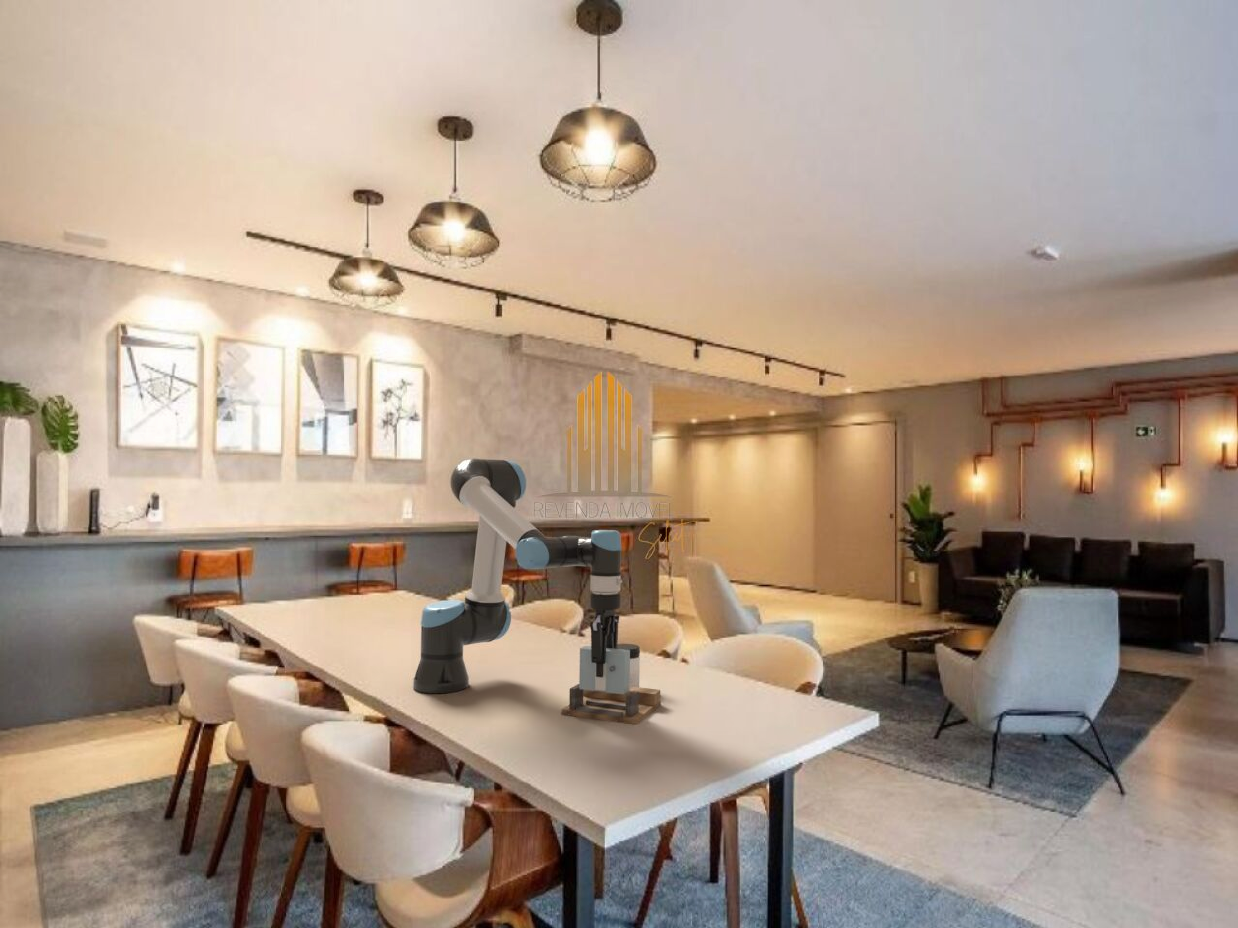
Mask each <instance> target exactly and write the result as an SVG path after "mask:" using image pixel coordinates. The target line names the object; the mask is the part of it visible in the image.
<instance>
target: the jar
mask: <svg viewBox="0 0 1238 928" xmlns="http://www.w3.org/2000/svg"><path fill="white" fill-rule="evenodd" d="M617 649H624V650H630V686H632V687H640V672H641V671H640V667H641V666H640V661H641V660H640V659H641V658H640V653H641V650H640V649H641V648H640V646H639V645H637V644H631V643H618V645H617Z"/></svg>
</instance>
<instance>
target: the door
mask: <svg viewBox="0 0 1238 928" xmlns="http://www.w3.org/2000/svg"><path fill="white" fill-rule="evenodd" d="M605 663H607V689H606V691H603V690H595V667H596V663H592V661H591V645H584V646H582V647H580V648H579V681H578V684H579V689H583V690H591V691H599V692H607V693H615V694H626V693H627V692H629V686H630V650H624V649H614V648H606V658H605Z"/></svg>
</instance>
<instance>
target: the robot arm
mask: <svg viewBox="0 0 1238 928" xmlns="http://www.w3.org/2000/svg"><path fill="white" fill-rule="evenodd" d="M449 482H450V489H451V492H452V494H453V495H454V497H455V498H456V500H458V501H459V502H460V504H461V505H462V506H464V507H466V508H471V509H472V510H474V512H475V513H476V514H478V515H479V517H478V525H477V536H476V543H475V553H474V561H473V570H472V571H473V573H472V579H471V589H470V590H469V591H467V593H466V594H465V596H464V597H465V598H464V601H463V600H459V599H449V600H440V601H435V602H432V603H429V604H427V605H426V606H425V607H424V608H423V609H422V611H421V612H422V613H421V620H420V627H421V633H420V659H419V662H418V666H417V669H416V670H415V674H414V678H413V682H412V683H413V684H412V685H413V686H412V688H413V690H415V691H417V692H420V693H425V694H446V693H455V692H459V691H463V690H464V689H467V688H468V687H469V685H470V683H469V682H470V681H469V680H470V679H469V675H468V669H467V667H466V664H465V663H466V662H465V661H464V646H469V645H475V644H480V643H490V642H493V641H496V640H500V639H502V638H503V637H504V636H505V635H506V634H507V633H508V631H509V629H510V626H511V623H512V622H511V621H512V612H511V611H510V610H511V609H510V606H509V605H508V603H507V602H506V597H505V596H504V595H503V593H502V592H501V591H502V581H503V576H504V575H503V574H504V573H503V572H504V565H505V564H504V563H505V556H506V549H507V548H506V547H507V543H508V544H509V545H510V546H511V547H512V548H513V549H514V555H515V559H516V560H517V564H518V566H519V567H521V568H522V569H524V570H535V571H537V570H543V569H551V568H553V569H554V568H564V567H589V568H590V586H589V587H590V588H589V589H590V592H591V593H590V596H589V597H590V598H589V599H590V605H589V607H590V608H591V609H593V610H595V616H594V621H590V622H589V627H590V628H589V629H590V634H591V635H590V646H591V661H592V663H596V667H595V690H603V691H606V689H607V663H605V658H606V648H614V649H617V645H618V644H619V641H618V639H619V638H618V637H619V622H620V614H619V615H617V614H616V612H615V610H619V609H620V608H621V594H620V593H619V592H620V591H621V584H622V583H623V580H622V578H621V570H622V569H621V565H622V564H621V563H622V549H623V547H622V537H621V532H619V530H614V529H609V530H608V529H598V530H597V529H595V530H594V529H593V530H592V532H591V533H590V534H591V535H590V537H589V536H588V537H587V536H578V535H564V536H560V537H559V536H557V537H555V536H554V537H552V536H551V537H548V536H546V535H544V534H543V532H541V531H540V530H539V529H537V527H535V526H534V525H533V524H532V523H531V522H530V521H529V520H528V519H527V518H525V517H524V516H523V515H522V514H521V513H520V512H519V511H518V510H516V503H517V501H519V500H520V499H521V498H523V496H524V495H525V493H526V490H527V477H526V475H525V472H524V470H523V469H522V467H521V465H519V464H518V463H517V462H515V461H511V460H505V459H488V458H487V459H486V458H485V459H483V458H481V459H480V458H468V459H465V460H463V461H461V462H460V463H458V464H457V465H456V466H455V468H454V469H453V471H452V472H451V476H450V481H449Z"/></svg>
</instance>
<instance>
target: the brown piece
mask: <svg viewBox="0 0 1238 928" xmlns="http://www.w3.org/2000/svg"><path fill="white" fill-rule="evenodd" d="M568 700H569V703H568V705H566V706H564V707H563V708H561V709H560V715H562V716H563V715H564V716H573V717H579V718H584V719H593V720H598V721H599V720H600V721H607V722H614V723H615V722H616V723H621V724H629V725H636V726H637V725H638V724H640V722H642V721H643V720H645V719H646V718H647V717H648V716H649V715H651V714H652V713H653V712H654V711H656V709H658V708H659V707H660V706H661V704H662V701H661V689H658V688H657V689H656V688H655V689H654V688H649V687H648V688H647V687H640V686H639V687H632V686H629V692H627V693H626V694H615V693H607V692H599V691H591V690H583V689H579V683H577V684H575V685H574V686H571V687H570V688H569V699H568Z"/></svg>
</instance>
